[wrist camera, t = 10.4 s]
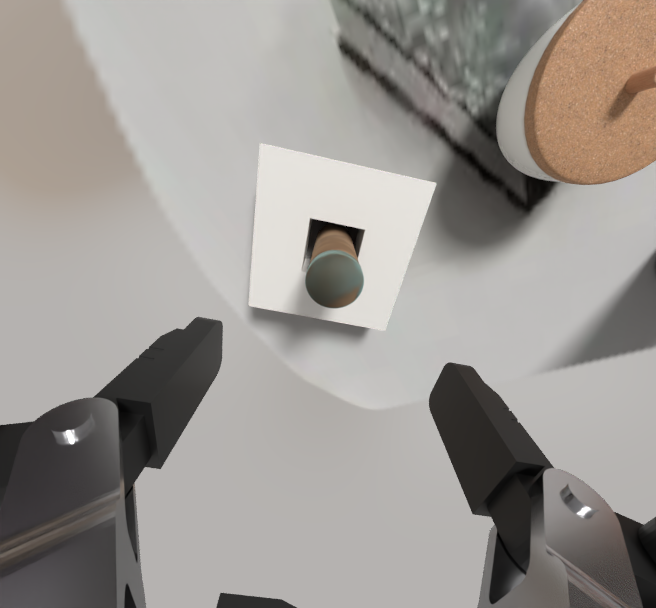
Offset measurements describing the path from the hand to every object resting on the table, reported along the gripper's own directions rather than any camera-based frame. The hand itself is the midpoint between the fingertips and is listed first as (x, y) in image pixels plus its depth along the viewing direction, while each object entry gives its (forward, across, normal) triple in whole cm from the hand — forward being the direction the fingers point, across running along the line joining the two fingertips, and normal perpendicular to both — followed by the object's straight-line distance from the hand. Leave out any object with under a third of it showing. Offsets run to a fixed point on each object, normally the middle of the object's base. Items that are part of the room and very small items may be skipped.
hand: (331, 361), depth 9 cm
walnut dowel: (+20, 0, 0) cm, 20 cm away
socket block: (+20, 0, 0) cm, 20 cm away
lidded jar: (+20, -15, -14) cm, 29 cm away
